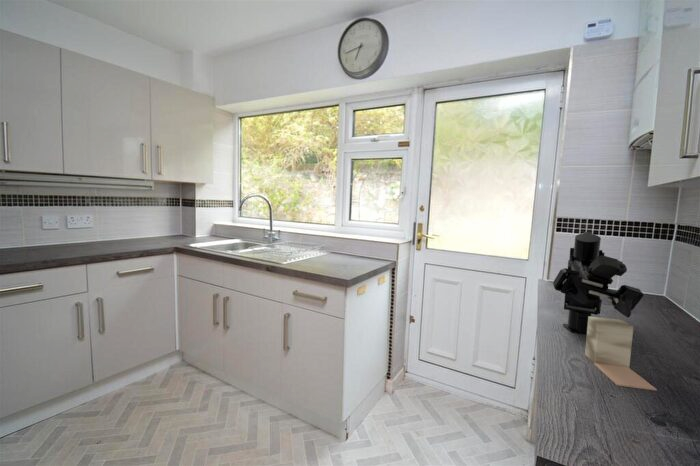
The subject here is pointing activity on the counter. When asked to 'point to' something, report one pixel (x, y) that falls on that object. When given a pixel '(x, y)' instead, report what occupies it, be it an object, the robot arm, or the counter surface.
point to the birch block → (609, 341)
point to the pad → (624, 376)
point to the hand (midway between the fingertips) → (607, 309)
